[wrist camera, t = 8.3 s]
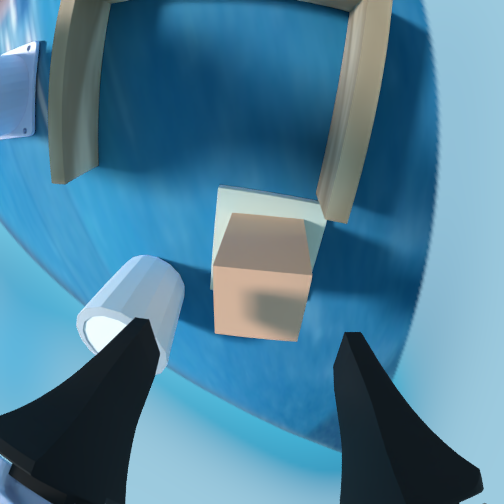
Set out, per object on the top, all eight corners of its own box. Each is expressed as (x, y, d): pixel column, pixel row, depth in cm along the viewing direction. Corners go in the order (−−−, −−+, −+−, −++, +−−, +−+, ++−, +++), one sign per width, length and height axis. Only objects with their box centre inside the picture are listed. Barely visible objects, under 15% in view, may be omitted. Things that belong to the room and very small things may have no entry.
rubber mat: (211, 284, 22) (210, 289, 22) (220, 184, 18) (218, 187, 17) (301, 299, 22) (301, 304, 21) (329, 203, 18) (330, 206, 17)
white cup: (209, 286, 22) (186, 356, 16) (165, 325, 25) (140, 387, 19) (138, 231, 20) (91, 288, 14) (105, 281, 23) (66, 336, 17)
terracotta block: (230, 271, 20) (214, 333, 15) (232, 212, 18) (212, 265, 13) (294, 277, 20) (296, 341, 15) (303, 219, 18) (312, 275, 13)
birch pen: (85, 164, 18) (51, 183, 14) (100, -7, 11) (66, -19, 7) (333, 196, 18) (347, 223, 14) (370, 2, 11) (393, -17, 7)
